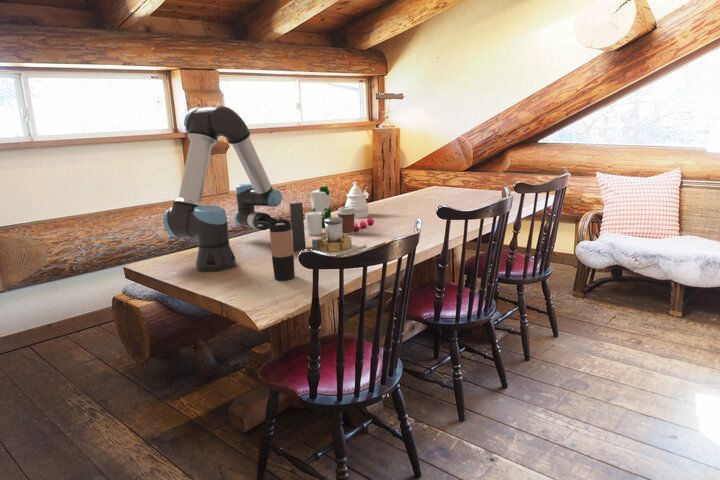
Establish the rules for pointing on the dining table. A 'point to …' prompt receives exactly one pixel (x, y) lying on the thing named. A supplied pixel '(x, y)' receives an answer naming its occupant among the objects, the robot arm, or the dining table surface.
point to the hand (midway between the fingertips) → (293, 227)
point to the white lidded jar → (333, 229)
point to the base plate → (354, 246)
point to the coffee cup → (347, 219)
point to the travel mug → (282, 250)
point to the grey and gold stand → (320, 244)
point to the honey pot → (357, 202)
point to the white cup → (314, 223)
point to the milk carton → (321, 202)
